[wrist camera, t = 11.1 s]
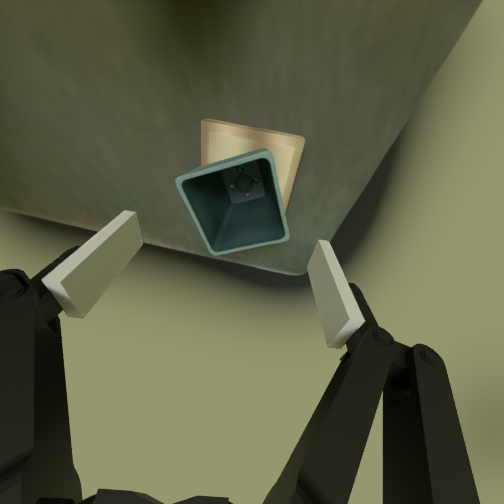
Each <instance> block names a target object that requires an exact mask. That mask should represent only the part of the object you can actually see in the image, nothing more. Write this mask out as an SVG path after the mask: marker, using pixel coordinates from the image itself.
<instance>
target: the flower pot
mask: <svg viewBox="0 0 504 504" xmlns="http://www.w3.org/2000/svg"><path fill="white" fill-rule="evenodd" d="M238 169H242V172H241V173H239V172H238ZM255 178H257V179H258V181H257V182H255V181H254V179H255ZM175 182H176V186H177V188H178V190H179V192H180V194H181V196H182V198H183V200H184V202H185V203H186V205H187V207H188V209H189V211H190V213H191V215H192V217H193V219H194V221H195V223H196V225H197V227H198V229H199V231H200V233H201V235H202V237H203V239H204V241H205V243H206V246H207V248H208V250H209V251H210V253H211V254H212V255H214V256H215V255H221V254H226V253H231V252H235V251H240V250H244V249H249V248H254V247H259V246H264V245H269V244H275V243H281V242H285V241H287V240H289V238H290V235H289V230H288V226H287V221H286V217H285V212H284V207H283V202H282V197H281V192H280V188H279V182H278V177H277V172H276V165H275V161H274V156H273V154H272V152H270V151H269V150H268V149H266V148H260V149H257V150H254V151H250V152H247V153H244V154H241V155H237V156H234V157H231V158H227V159H224V160H221V161H217V162H214V163H211V164H207V165H204V166H200V167H197V168H195V169H193V170H191V171H189V172H187V173H185V174H183V175H181V176H179V177H177V178H176V180H175ZM231 184H233V185H234V188H231V187H230V185H231ZM246 193H249V196H248V197H247V196H246Z"/></svg>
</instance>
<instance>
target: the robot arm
mask: <svg viewBox="0 0 504 504" xmlns="http://www.w3.org/2000/svg"><path fill="white" fill-rule="evenodd" d="M142 245H143V241H142V236H141V232H140V228H139V223H138V219H137V215H136V212H132V211H125V210H124V211H123V212H122V213H121V214H120V215H118V216H117V217H116V218H115V219H114V220H112V221H111V222H110V223H109V224H108V225H106V226H105V227H104V228H103V229H102V230H100V231H99V232H98V233H97V234H96V235H94V236H93V237H92V238H91V239H90V240H88V241H87V242H86V243H85V244H84V245H82V246H75V247H73V248H71V249H69V250H67V251H66V252H64V253H63V254H62V255H61V256H60V257H59V258H57V259H56V260H54V261H53V263H51V264H49V265H48V266H47V267H46V268H44V269H43V270H42V271H40V272H39V273H38V274H37V275H36V276H34V277H33V278H32V279H29V278H28V276H27V275H26V274H25V272H24V271H22V270H19V269H7V270H2V271H0V504H164V503H162V502H160V501H158V500H156V499H154V498H153V497H151V496H149V495H147V494H144V493H139V492H134V491H124V490H110V489H98V491H97V494H96V495H93V496H90V497H88V498H86V499H84V500H83V499H82V490H81V483H80V479H79V476H78V474H77V472H76V470H75V468H74V464H73V458H72V448H71V436H70V425H69V414H68V403H67V392H66V380H65V369H64V359H63V348H62V337H61V326H60V319H59V317H58V314H59V313H60V312H61V311H62V310H63V311H64V312H65V313H66V315H67V316H68V317H75V318H84V317H85V315H86V314H87V313H88V312H89V311H90V309H91V308H92V307H93V306H94V304H95V303H96V302H97V301H98V299H99V298H100V297H101V296H102V294H103V293H104V292H105V291H106V289H107V288H108V287H109V286H110V284H111V283H112V282H113V281H114V279H115V278H116V277H117V276H118V275H119V273H120V272H121V271H122V269H123V268H124V267H125V266H126V265H127V263H128V262H129V261H130V259H131V258H132V257H133V256H134V255H135V253H136V252H137V251H138V250H139V248H140V247H141V246H142ZM307 270H308V273H309V277H310V281H311V285H312V289H313V293H314V297H315V301H316V305H317V308H318V312H319V316H320V320H321V324H322V328H323V332H324V335H325V339H326V343H327V347H329V348H337V349H341V348H342V347H343V346H344V345H345V344H346V346H347V349H348V351H347V352H346V353H345V354H344V355H343V356H342V357H341V358H340V360H341V362H340V364H339V366H338V368H337V370H336V372H335V374H334V375H333V378H332V379H331V381H330V383H329V385H328V387H327V389H326V391H325V392H324V394H323V396H322V398H321V400H320V402H319V404H318V406H317V407H316V409H315V411H314V413H313V415H312V417H311V419H310V421H309V423H308V424H307V426H306V428H305V430H304V432H303V434H302V436H301V438H300V439H299V442H298V443H297V445H296V447H295V449H294V451H293V452H292V454H291V456H290V458H289V461H288V462H287V464H286V466H285V468H284V470H283V471H282V473H281V475H280V477H279V479H278V480H277V482H276V483H275V485H274V486H273V487H272V489H271V490H270V492H269V493H268V495H267V496H266V498H265V500H264V502H263V504H348V500H349V497H350V494H351V491H352V487H353V484H354V481H355V478H356V475H357V471H358V468H359V465H360V461H361V459H362V455H363V452H364V449H365V446H366V442H367V439H368V436H369V433H370V429H371V426H372V423H373V420H374V417H375V413H376V410H377V407H378V404H379V400H380V397H381V394H382V391H383V504H480V501H479V498H478V494H477V489H476V485H475V482H474V478H473V474H472V470H471V466H470V462H469V458H468V454H467V450H466V446H465V442H464V438H463V434H462V430H461V426H460V423H459V418H458V414H457V410H456V406H455V402H454V398H453V394H452V390H451V386H450V383H449V378H448V374H447V370H446V367H445V364H444V361H443V360H442V358H441V357H440V356H439V354H437V353H436V352H435V351H434V350H433V349H431V348H430V347H428V346H426V345H423V344H416V345H414V346H413V347H412V348H411V347H409V346H406V345H404V344H401V343H399V342H396V341H394V338H393V337H392V336H391V335H390V333H388V332H387V331H386V330H385V329H383V328H381V327H379V326H378V324H377V322H376V320H375V318H374V316H373V314H372V312H371V310H370V308H369V306H368V305H367V302H366V300H365V299H364V296H363V294H362V292H361V290H360V289H359V288H358V287H357V286H356V285H355V284H354V283H348V282H347V280H346V278H345V276H344V274H343V271H342V269H341V267H340V265H339V263H338V261H337V258H336V256H335V254H334V252H333V250H332V247H331V245H330V243H329V241H324V240H318V243H317V245H316V247H315V249H314V252H313V254H312V256H311V259H310V261H309V263H308V266H307ZM228 499H229V498H225V497H210V496H195V497H192V498H189V499H186V500H183V501H180V502H177V503H174V504H233V503H231V502H229V501H228Z"/></svg>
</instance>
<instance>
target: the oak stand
mask: <svg viewBox="0 0 504 504" xmlns="http://www.w3.org/2000/svg"><path fill="white" fill-rule="evenodd" d="M305 140H306V139H305V138H304V137H303V136H300V135H295V134H289V133H284V132H278V131H273V130H267V129H262V128H257V127H251V126H246V125H240V124H235V123H229V122H224V121H218V120H213V119H208V118H207V119H204V120H201V166H204V165H207V164H211V163H214V162H217V161H221V160H224V159H227V158H231V157H234V156H237V155H241V154H244V153H247V152H250V151H254V150H257V149H260V148H266V149H268V150H269V151H270V152H272V154H273V156H274V161H275V165H276V172H277V177H278V182H279V188H280V192H281V197H282V202H283V207H284V212H286V208H287V205H288V201H289V198H290V194H291V190H292V187H293V183H294V180H295V176H296V172H297V169H298V165H299V162H300V158H301V154H302V151H303V147H304V143H305ZM238 172H239V173H241V172H242V169H238ZM254 181H255V182H257V181H258V179H257V178H255V179H254ZM230 187H231V188H234V185H233V184H231V185H230ZM246 196H247V197H248V196H249V193H246Z"/></svg>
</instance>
